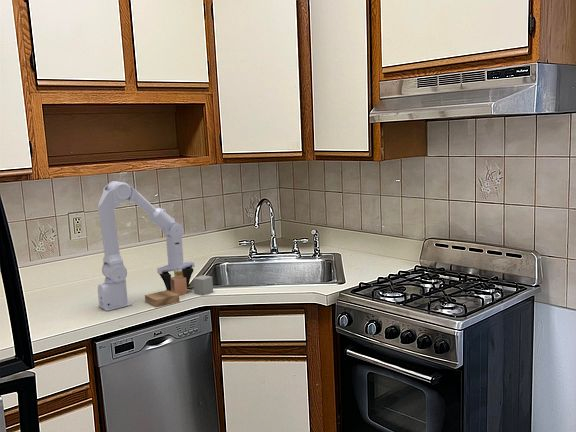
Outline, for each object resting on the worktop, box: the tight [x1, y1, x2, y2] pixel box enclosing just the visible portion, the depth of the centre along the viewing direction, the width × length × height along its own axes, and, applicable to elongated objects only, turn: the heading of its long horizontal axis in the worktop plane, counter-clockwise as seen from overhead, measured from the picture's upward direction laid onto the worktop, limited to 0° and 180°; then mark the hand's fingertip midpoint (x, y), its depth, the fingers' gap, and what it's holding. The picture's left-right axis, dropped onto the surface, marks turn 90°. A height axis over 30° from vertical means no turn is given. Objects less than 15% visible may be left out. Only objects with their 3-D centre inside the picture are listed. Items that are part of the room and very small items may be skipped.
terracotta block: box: [171, 275, 188, 296], centre depth 218 cm, size 5×5×6 cm
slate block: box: [192, 274, 214, 296], centre depth 217 cm, size 5×5×6 cm
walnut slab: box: [144, 289, 180, 308], centre depth 208 cm, size 9×9×3 cm
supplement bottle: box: [173, 260, 186, 277], centre depth 228 cm, size 5×5×10 cm
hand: (177, 288), depth 218 cm, fingers open, 7 cm apart
